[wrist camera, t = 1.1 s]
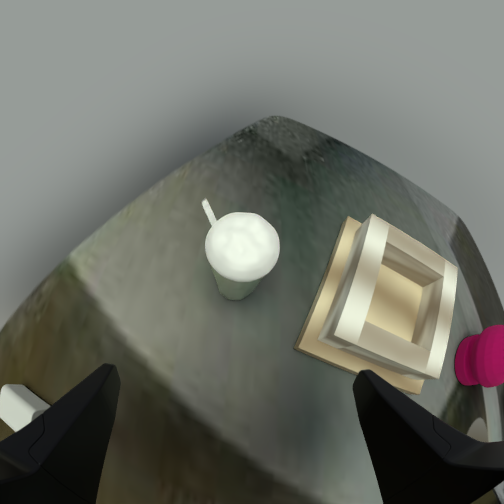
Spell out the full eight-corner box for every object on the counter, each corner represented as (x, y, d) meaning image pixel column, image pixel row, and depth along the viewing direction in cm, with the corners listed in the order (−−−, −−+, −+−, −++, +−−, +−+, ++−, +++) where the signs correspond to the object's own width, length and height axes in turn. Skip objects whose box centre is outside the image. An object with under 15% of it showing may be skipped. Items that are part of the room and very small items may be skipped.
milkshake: (224, 244, 25) (228, 176, 16) (270, 279, 24) (301, 226, 15) (191, 280, 24) (176, 226, 14) (239, 318, 23) (253, 287, 14)
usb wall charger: (26, 384, 17) (2, 384, 13) (76, 420, 17) (55, 427, 13) (20, 415, 15) (-3, 418, 12) (70, 452, 15) (50, 462, 12)
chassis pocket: (410, 394, 21) (442, 395, 17) (293, 348, 22) (312, 344, 18) (437, 278, 27) (464, 263, 22) (342, 223, 28) (362, 197, 23)
